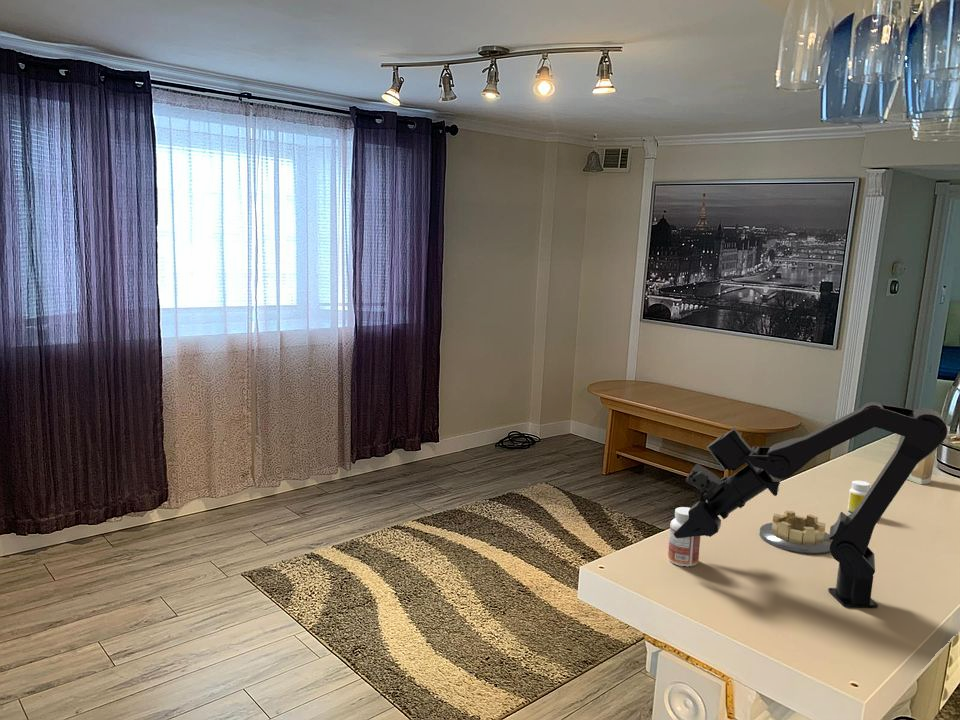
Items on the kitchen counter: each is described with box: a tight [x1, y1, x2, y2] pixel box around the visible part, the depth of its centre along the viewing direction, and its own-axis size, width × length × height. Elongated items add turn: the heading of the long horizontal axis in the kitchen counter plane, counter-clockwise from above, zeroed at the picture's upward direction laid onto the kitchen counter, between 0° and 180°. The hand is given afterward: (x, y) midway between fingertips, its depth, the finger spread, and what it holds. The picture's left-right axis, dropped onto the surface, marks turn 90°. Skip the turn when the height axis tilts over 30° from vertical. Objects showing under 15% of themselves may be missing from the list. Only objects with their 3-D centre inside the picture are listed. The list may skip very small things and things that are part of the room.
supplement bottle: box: [846, 480, 871, 515], centre depth 182 cm, size 5×5×8 cm
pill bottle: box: [667, 506, 701, 568], centre depth 151 cm, size 6×6×11 cm
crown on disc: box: [759, 510, 831, 556], centre depth 165 cm, size 16×16×5 cm
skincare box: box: [906, 448, 937, 485], centre depth 211 cm, size 6×4×12 cm
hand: (679, 528), depth 151 cm, fingers open, 9 cm apart
